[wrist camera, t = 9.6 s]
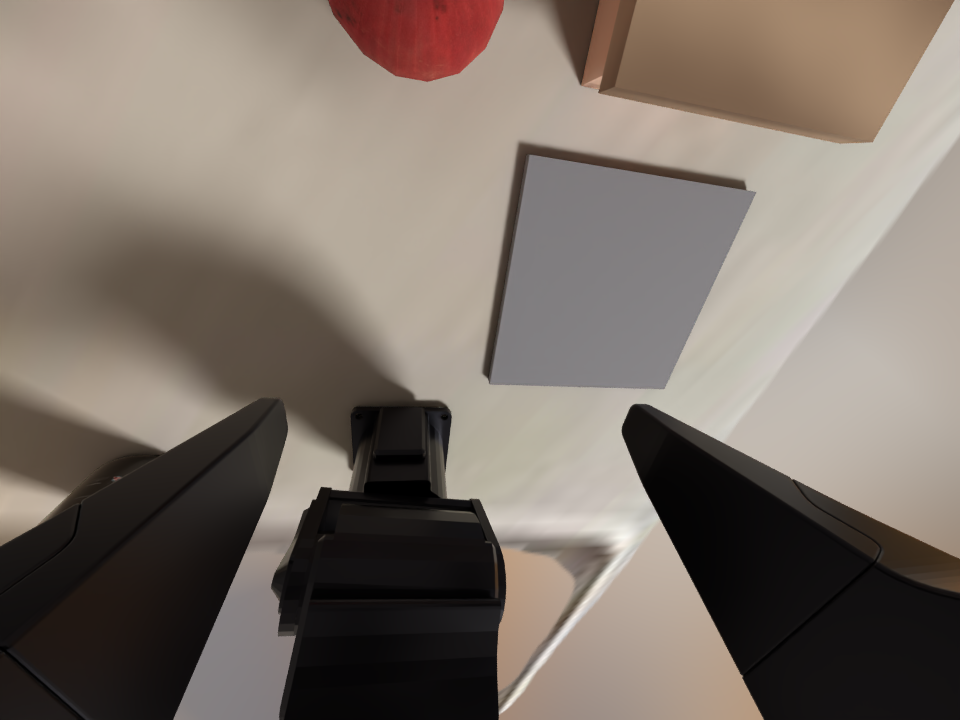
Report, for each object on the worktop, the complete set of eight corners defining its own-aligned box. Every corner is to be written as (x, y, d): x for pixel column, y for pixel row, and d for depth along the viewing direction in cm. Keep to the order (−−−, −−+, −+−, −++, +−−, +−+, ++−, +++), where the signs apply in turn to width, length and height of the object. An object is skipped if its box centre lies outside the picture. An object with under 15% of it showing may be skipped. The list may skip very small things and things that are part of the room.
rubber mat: (659, 384, 25) (664, 389, 25) (488, 379, 23) (489, 384, 22) (747, 191, 19) (756, 191, 19) (526, 154, 17) (529, 154, 16)
